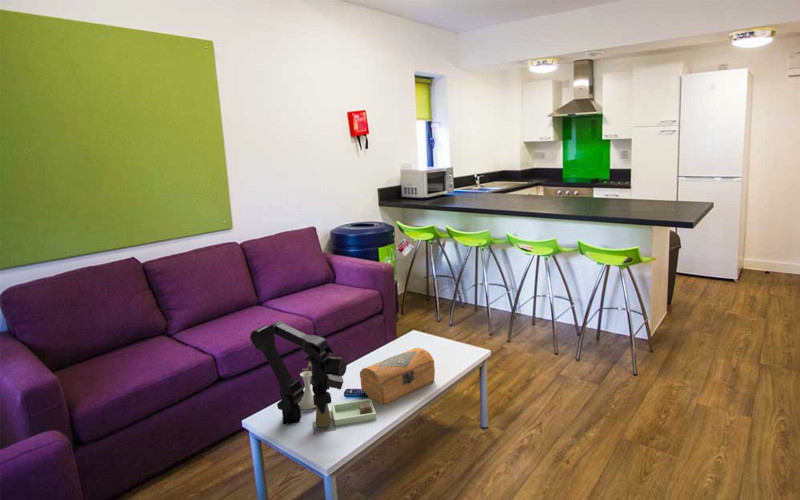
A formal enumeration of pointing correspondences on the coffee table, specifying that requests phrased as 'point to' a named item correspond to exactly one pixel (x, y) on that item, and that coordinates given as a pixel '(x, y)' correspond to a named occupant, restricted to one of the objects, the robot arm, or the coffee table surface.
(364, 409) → the walnut block
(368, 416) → the tray
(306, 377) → the flower in vase
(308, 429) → the coffee table surface
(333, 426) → the pad
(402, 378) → the wooden box
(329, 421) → the cork
